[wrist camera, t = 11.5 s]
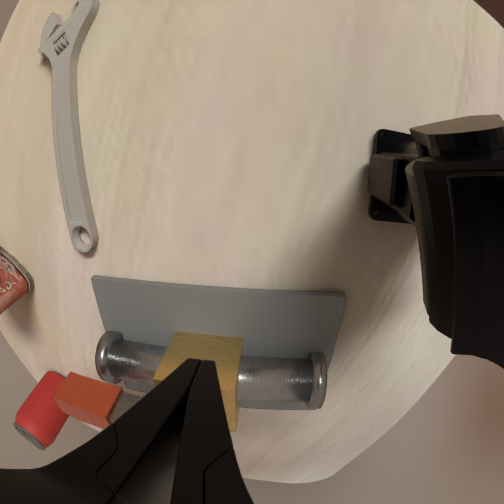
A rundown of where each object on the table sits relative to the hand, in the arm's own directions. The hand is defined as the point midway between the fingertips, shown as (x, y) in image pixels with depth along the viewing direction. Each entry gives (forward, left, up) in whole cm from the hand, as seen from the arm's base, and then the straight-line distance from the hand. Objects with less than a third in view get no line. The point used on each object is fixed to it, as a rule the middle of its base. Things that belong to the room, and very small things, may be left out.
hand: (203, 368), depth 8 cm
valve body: (+3, +12, -13) cm, 18 cm away
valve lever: (+8, +12, -6) cm, 16 cm away
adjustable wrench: (+16, -11, -14) cm, 24 cm away
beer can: (+28, +25, -13) cm, 40 cm away
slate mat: (+3, +12, -13) cm, 18 cm away
